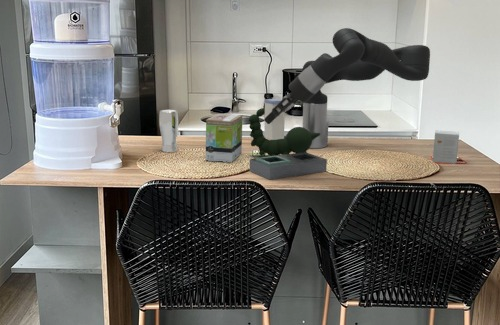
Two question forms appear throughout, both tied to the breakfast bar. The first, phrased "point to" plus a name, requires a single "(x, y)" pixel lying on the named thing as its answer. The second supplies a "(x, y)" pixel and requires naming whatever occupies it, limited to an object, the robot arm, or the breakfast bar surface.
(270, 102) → the plug
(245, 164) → the breakfast bar surface
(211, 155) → the tea box
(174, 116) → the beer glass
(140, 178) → the breakfast bar surface
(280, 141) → the toy figurine
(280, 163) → the panel
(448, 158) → the small box
